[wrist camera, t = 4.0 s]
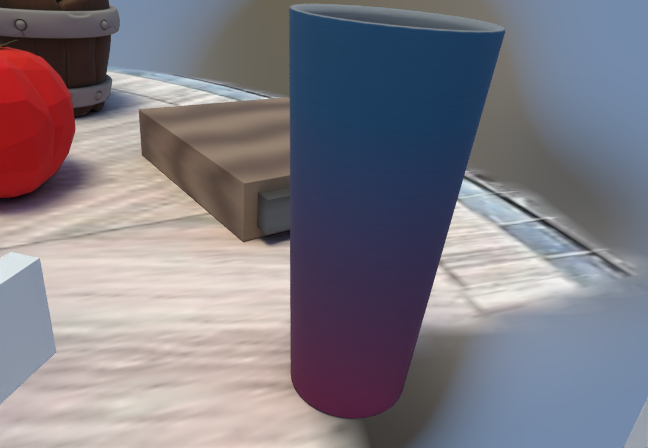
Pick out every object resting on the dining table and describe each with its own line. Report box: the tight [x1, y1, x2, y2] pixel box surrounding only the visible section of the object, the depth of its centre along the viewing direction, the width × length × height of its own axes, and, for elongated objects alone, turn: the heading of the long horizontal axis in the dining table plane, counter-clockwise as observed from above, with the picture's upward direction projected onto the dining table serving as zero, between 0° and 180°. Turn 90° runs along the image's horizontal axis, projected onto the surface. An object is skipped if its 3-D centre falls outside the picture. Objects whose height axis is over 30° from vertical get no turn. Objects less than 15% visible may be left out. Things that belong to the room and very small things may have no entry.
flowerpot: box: [0, 0, 120, 116], centre depth 52 cm, size 14×15×20 cm
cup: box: [289, 4, 505, 418], centre depth 20 cm, size 7×7×15 cm
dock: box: [139, 97, 290, 241], centre depth 44 cm, size 19×18×4 cm
